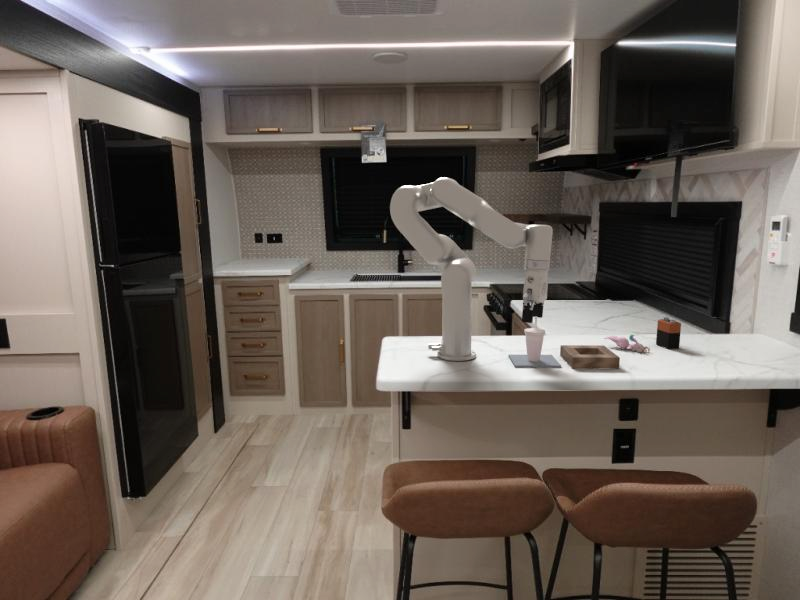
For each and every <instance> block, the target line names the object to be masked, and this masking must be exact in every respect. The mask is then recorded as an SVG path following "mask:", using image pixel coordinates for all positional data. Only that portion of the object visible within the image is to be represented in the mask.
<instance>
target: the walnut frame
mask: <svg viewBox="0 0 800 600" xmlns="http://www.w3.org/2000/svg"><path fill="white" fill-rule="evenodd" d="M559 353H560V354H559V356H560V357H561V358H562V359H563V361H564V362H567V363H566V364H567V365H568V366H569V367H570V368H571V369H572V370H573V369H575V370H577V369H578V368H580V369H581V368H589V369H590V368H591V370H592V369H593V368H619V369H620V362H621V360H620V358H621V357H620V356H618V355H617V353H616V354H615V353H614V352H613V351H612V350H611V349H609V348H608V347H606V346H605V345H598V344H597V345H582V344H580V345H579V344H578V345H575V344H574V345H572V344H571V345H570V344H569V345H567V344H566V345H565V344H564V345H560V352H559ZM581 370H582V369H581Z"/></svg>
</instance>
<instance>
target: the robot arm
mask: <svg viewBox="0 0 800 600" xmlns="http://www.w3.org/2000/svg"><path fill="white" fill-rule="evenodd" d="M442 207H443V208H445V209H446V210H447V211H449V212H450V213H452V214H454V215H455V216H456V217H458V218H460V219H462V220H463V221H464V222H466V223H468V224H469V225H470V226H471V227H473V228H475V229H476V230H478V231H480V232H481V233H482V234H483V235H485V236H487V237H488V238H490V239H492V240H493V241H494V242H497V243H498V244H499V245H501V246H503V247H505V248H507V249H509V250H510V249H512V250H513V249H517V248H519V247H525V250H524V251H525V252H524V265H523V266H524V267H523V270H525V275H524V276H525V277H524V280H523V281H524V283H523V291H522V301H523V302H522V312H521V313H522V315H521V323H522V322H523V323H527V324H532V323H533V319H534V318H535V316H537V318H538V319H539V318H540V319H541V318H543V313H544V304H545V301H546V300H547V299H548V288H549V287H548V286H549V285H548V282H549V275H548V274H549V271H550V265H551V253H552V244H553V242H552V241H553V232H554V231H553V227H552V226H551V225H548V224H535V223H534V224H526V223H521V222H514V221H513V220H511V219H509V218H508V217H506V216H504V215H503V214H501V213H499V212H498V211H497V210H496V209H495V208H493V207H491V206H490V205H489V203H488V202H487V201H486V200H484V198H482V197H480V196H479V195H476V193H474V192H472V191H471V190H469V189H467V188H465V186H463V185H460V184H459V183H458V182H457V180H455V179H453V178H450V177H445V176H444V177H442V176H441V177H439V178H437V179H435V181H433V182H430V183H426V184H420V185H411V184H409V185H402V186H400V187H398V188H397V189H396V190H395V191H394V193H393V194H392V196H391V199H390V204H389V211H390V212H389V213H390V216H391V220H392V222H393V224H394V226H395V227H396V229H397V230H398V231H399V232H400V234H402V235H403V236H404V238H405V239H406V240H407V241H408V242H409V244H410V245H411V246H412V247H413V249H414V250H415V251H417V253H419V255H420V256H421V257H422V258H423V260H425V262H426V263H428V264H430V265H432V266H433V265H435V266H436V265H437V266H438V267H439V268H440V269H441V270H442V272H441V276H440V277H441V278H440V281H441V282H440V284H441V298H442V299H441V301H442V302H441V305H442V307H441V308H442V311H441V312H442V313H441V314H442V316H441V317H442V320H441V321H442V322H441V324H442V325H441V327H442V329H441V330H442V331H441V332H442V333H441V337H442V338H441V340H440V342H437V343H428V347H427V349H428V350H431V351H434V352H435V351H436V352H437V357H438V358H439V359H442V360H445V361H450V362H451V361H453V362H465V361H470V360H473V359H475V358H476V357H477V353H476V352H475V350H472V323H473V322H472V320H473V319H472V318H473V315H472V313H473V312H472V311H473V294H472V282H474V280H475V278H476V277H477V268H476V266H475V265H476V264H475V263H474V262H473V261H472V260H471V258H469V257H468V255H467V254H466V253H465V252H464V251H463V250H462V249H461V248H460V247H459V246H458V245H457V243H456V242H455V241H454V240H452V239H451V237H449V236H447V235H445V234H441V233H438V232H437V231H435V230H434V228H432V226H431V225H430V224H429V222H427V221H426V220H425V218H423V217H422V215H420V213H419V212H423V211H427V210H432V209H433V210H434V209H437V208H442Z"/></svg>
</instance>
